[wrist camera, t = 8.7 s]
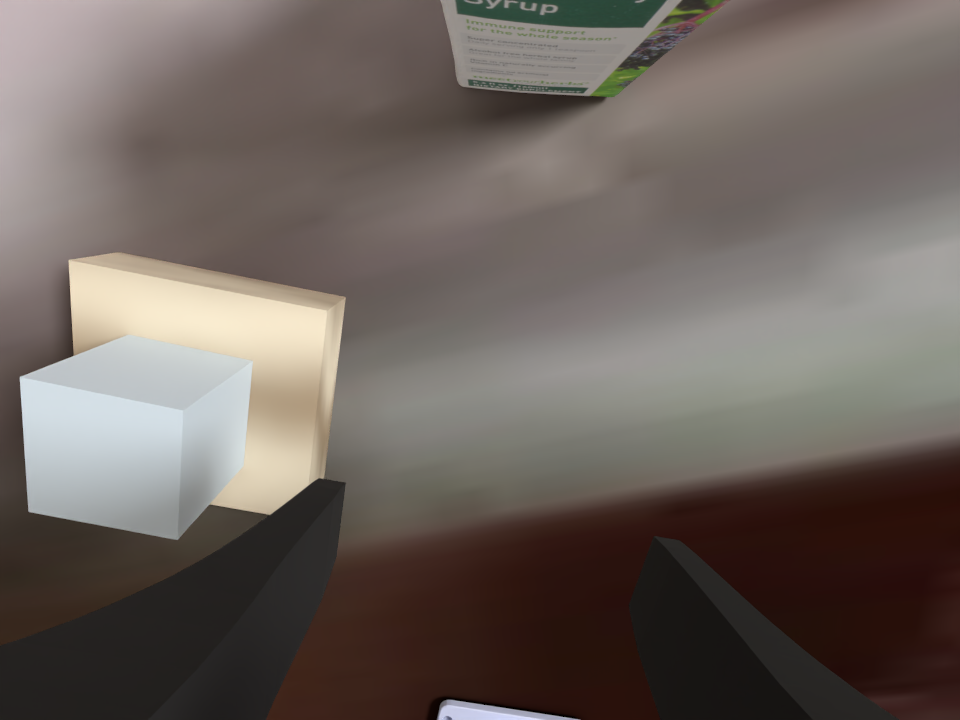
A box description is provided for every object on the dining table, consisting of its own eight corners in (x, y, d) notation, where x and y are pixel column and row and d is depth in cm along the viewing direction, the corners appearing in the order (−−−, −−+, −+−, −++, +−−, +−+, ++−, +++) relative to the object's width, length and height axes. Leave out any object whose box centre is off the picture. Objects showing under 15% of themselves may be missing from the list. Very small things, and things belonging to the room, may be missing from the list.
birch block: (325, 481, 24) (304, 520, 21) (130, 446, 23) (80, 482, 20) (348, 294, 21) (327, 310, 18) (126, 250, 20) (68, 260, 17)
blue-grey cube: (243, 465, 20) (177, 540, 16) (127, 442, 20) (28, 511, 15) (253, 360, 19) (183, 410, 14) (128, 334, 18) (19, 377, 14)
